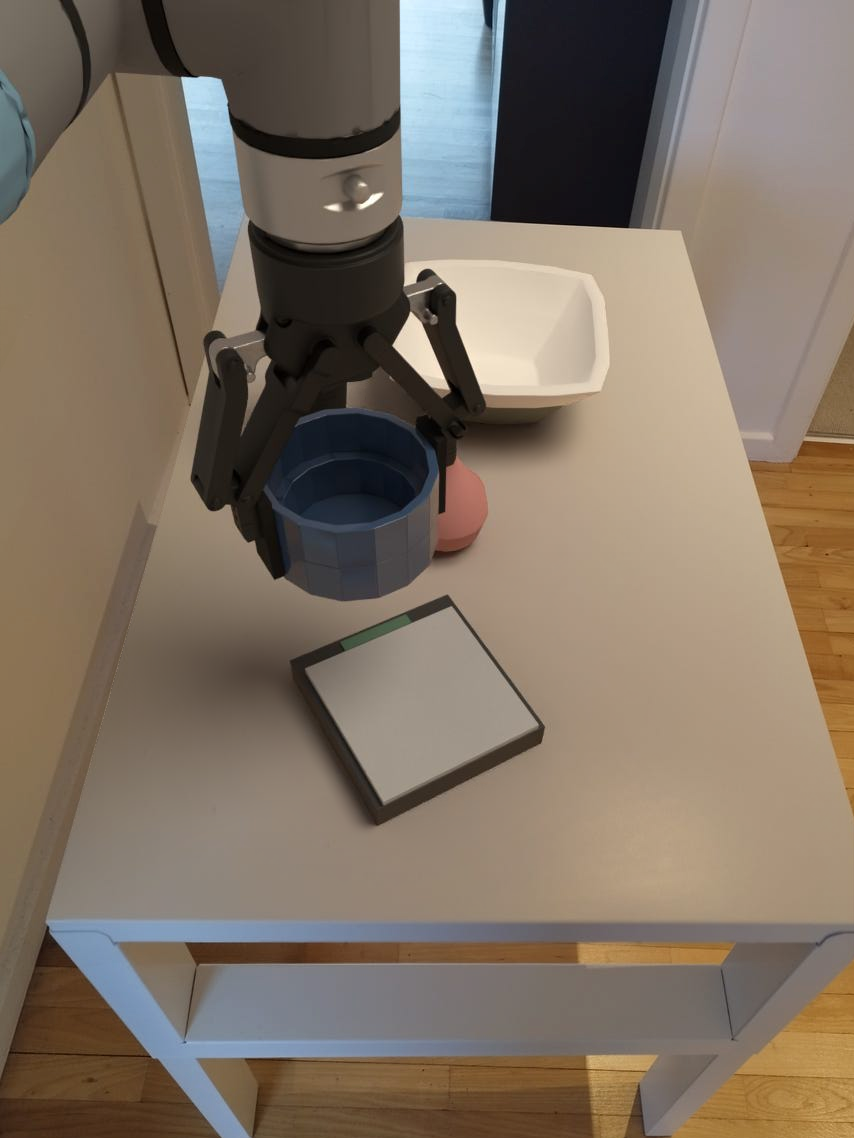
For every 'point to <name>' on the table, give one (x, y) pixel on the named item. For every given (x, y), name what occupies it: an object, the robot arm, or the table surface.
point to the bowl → (517, 336)
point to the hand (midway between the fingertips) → (353, 532)
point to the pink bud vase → (461, 508)
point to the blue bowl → (355, 504)
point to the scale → (415, 706)
